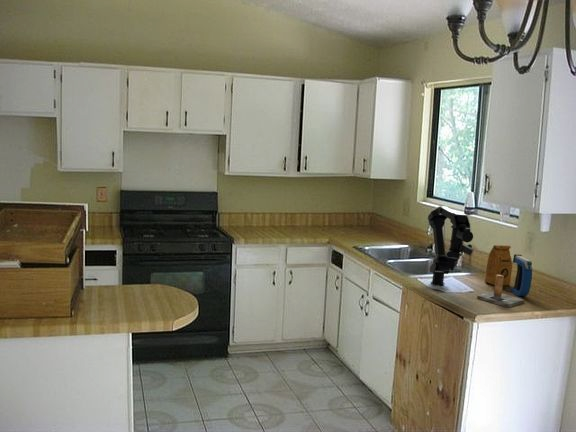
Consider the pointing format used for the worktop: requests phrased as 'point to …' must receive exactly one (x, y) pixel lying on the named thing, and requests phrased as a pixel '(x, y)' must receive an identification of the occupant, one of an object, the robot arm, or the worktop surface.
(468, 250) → the robot arm
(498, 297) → the wooden block
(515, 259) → the blue curved piece
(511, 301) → the grey square tile
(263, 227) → the worktop surface
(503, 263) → the coffee package
